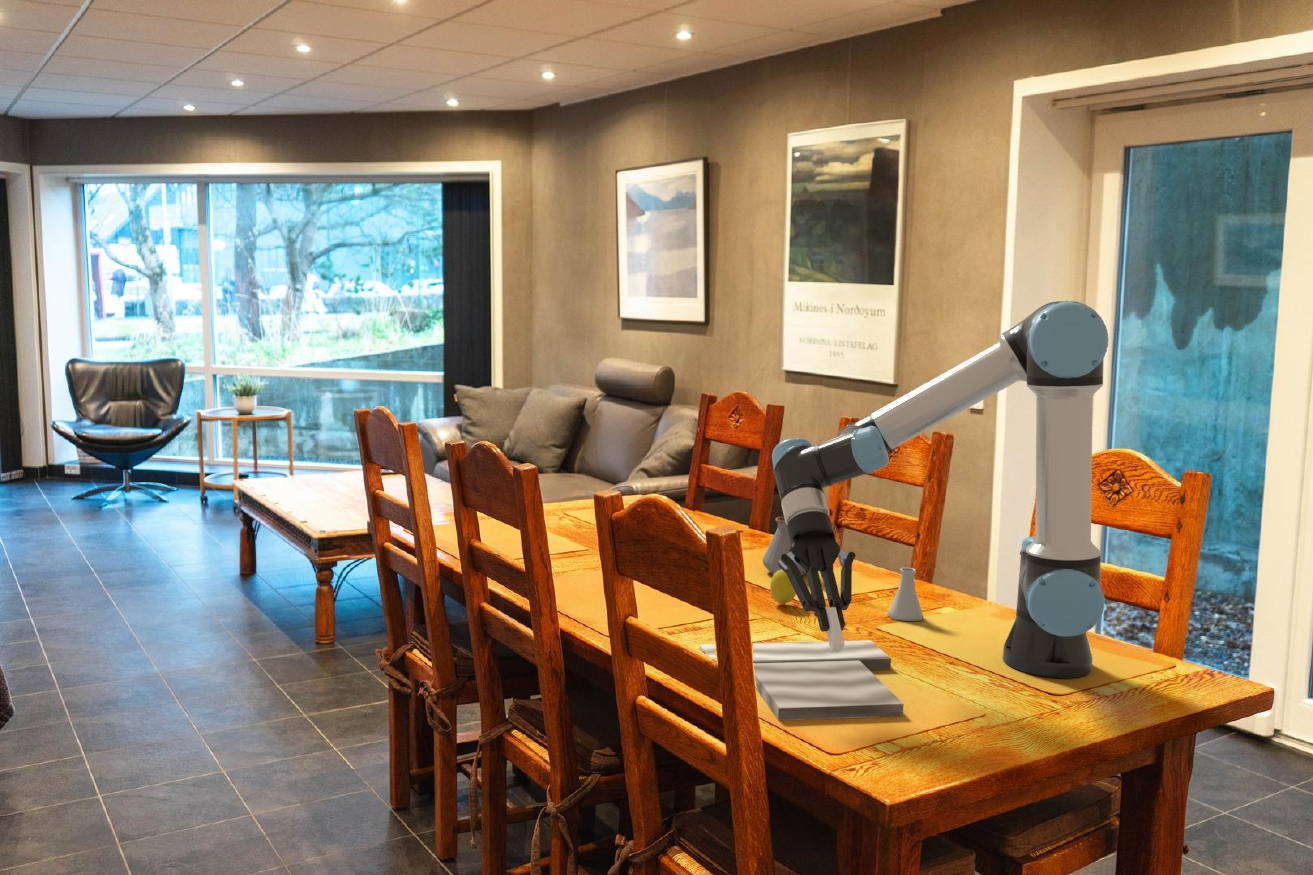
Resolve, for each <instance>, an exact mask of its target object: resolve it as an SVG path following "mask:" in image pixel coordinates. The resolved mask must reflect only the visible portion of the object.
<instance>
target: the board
mask: <svg viewBox="0 0 1313 875" xmlns="http://www.w3.org/2000/svg"><path fill="white" fill-rule="evenodd" d="M715 644H716V643H714V644H713V643H712V644H711V643H709V644H705V643H704V644H699V652H700V651H701V652H702V653H704V654H706V655H709V656H710V657H711V658H712V659H716V655H715ZM858 660H859V661H860V662H861V663H862V664H863V665H865V666H866V667H867V668H868V669H869V670H870V671H879V670H880V671H882V670H883V671H884V670H885V671H886V670H888V671H889V670H891V669H892V668H891V666H892V665H891V663H892V658H891V657H890V656H889V655H888V654H886V652H884V650H882V649H881V648H880V647H879V646H878V645H877V644H876V643H875V642H873V641H872V640H870V639H869V640H866V639H865V640H844V646H843V648H842V650H841V652H836V653H831V650H830V646H829V642H828V640H827V641H794V642H793V641H790V642H788V641H787V642H753V663H786V662H822V661H858Z"/></svg>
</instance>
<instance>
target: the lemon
mask: <svg viewBox="0 0 1313 875" xmlns="http://www.w3.org/2000/svg"><path fill="white" fill-rule="evenodd" d="M769 588H770V590H769V591H770V594H771V596H772V598H773V599H774V600H775V601H777V602H778V603H779V605H780V606H785V605H786V604H788V603H789V602H791V601H793V599H794V598H795V597H796V596H797V595H796V593H795V591H794V589H793V587H792V584H791V582H790V580H789V578H788V576H787V574H786V573H785V572H784V571H783V570H782V569H781V570H778V571H777V572H775V574H774V575H773V574H772V577H771V580H770V585H769Z"/></svg>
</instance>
